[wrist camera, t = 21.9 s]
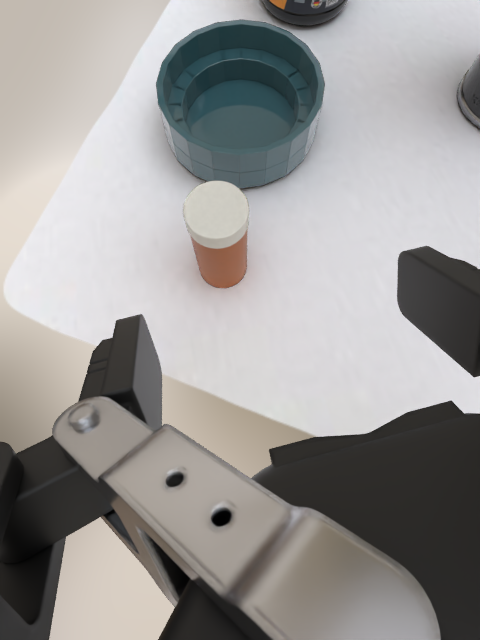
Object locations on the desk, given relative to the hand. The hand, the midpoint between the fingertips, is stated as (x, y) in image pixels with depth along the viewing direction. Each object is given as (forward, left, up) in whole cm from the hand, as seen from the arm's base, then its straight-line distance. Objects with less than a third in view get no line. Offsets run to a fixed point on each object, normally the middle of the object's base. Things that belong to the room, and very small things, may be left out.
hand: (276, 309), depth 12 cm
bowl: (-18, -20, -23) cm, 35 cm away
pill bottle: (-6, -10, -23) cm, 25 cm away
